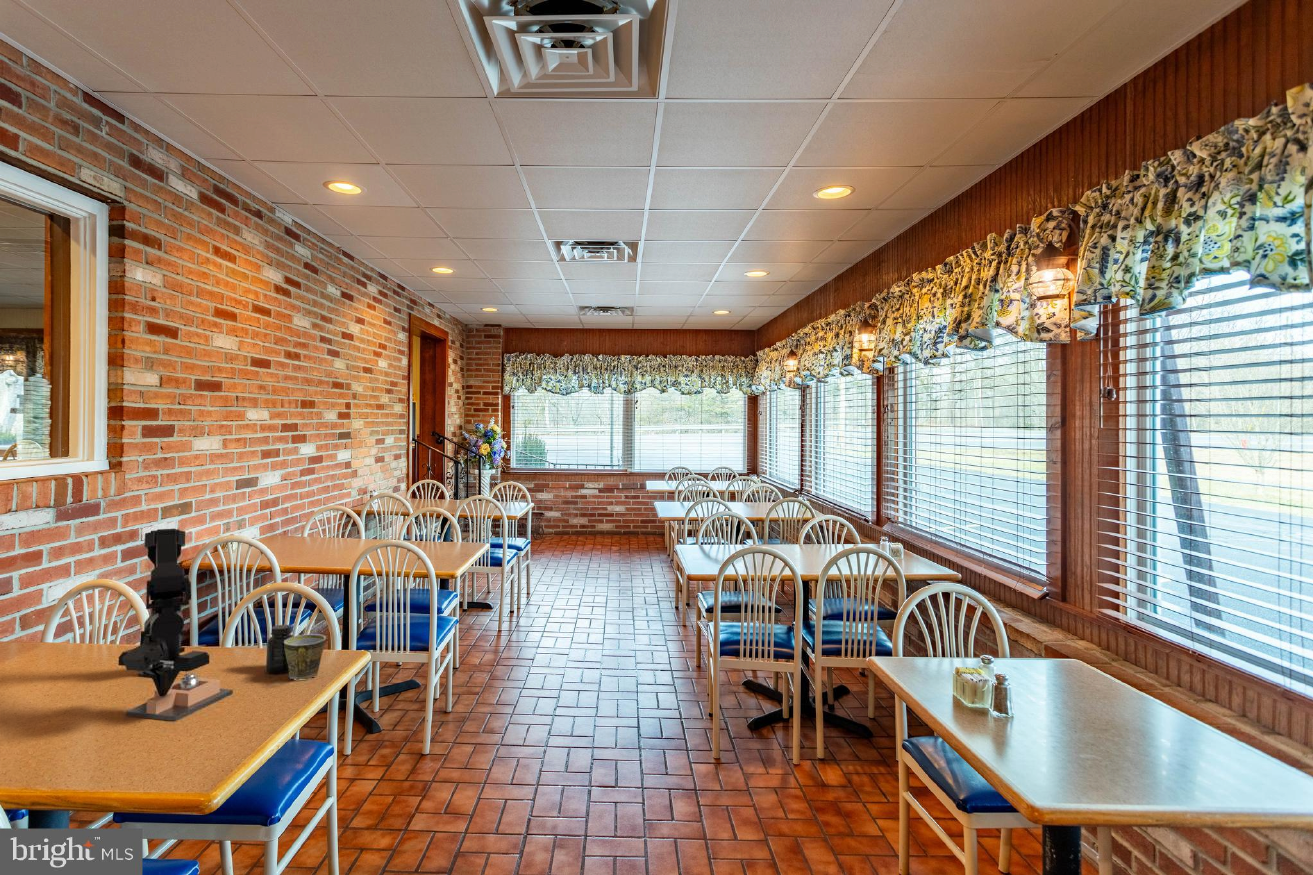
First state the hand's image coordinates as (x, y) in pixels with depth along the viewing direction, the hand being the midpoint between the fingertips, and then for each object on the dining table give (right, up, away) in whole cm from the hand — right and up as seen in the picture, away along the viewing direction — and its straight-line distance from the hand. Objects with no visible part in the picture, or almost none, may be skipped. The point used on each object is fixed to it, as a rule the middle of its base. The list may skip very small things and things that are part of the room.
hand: (163, 695), depth 147 cm
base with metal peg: (+1, -4, +5) cm, 6 cm away
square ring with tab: (+1, -3, +4) cm, 5 cm away
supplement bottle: (+10, -5, +29) cm, 31 cm away
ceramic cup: (+19, -5, +23) cm, 31 cm away
